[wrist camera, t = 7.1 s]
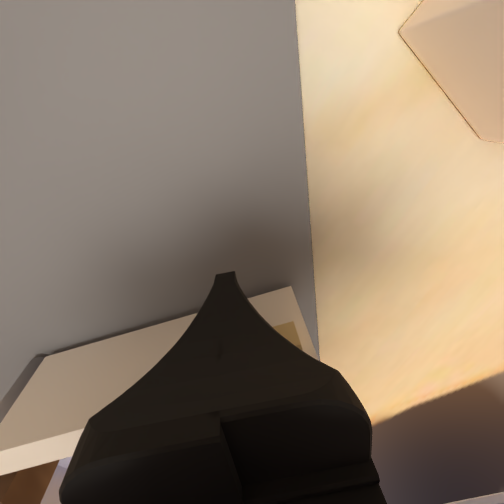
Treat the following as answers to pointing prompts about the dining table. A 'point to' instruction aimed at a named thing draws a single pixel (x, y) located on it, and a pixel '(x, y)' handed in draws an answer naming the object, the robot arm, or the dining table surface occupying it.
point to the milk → (464, 57)
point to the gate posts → (26, 484)
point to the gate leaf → (103, 382)
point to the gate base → (145, 166)
